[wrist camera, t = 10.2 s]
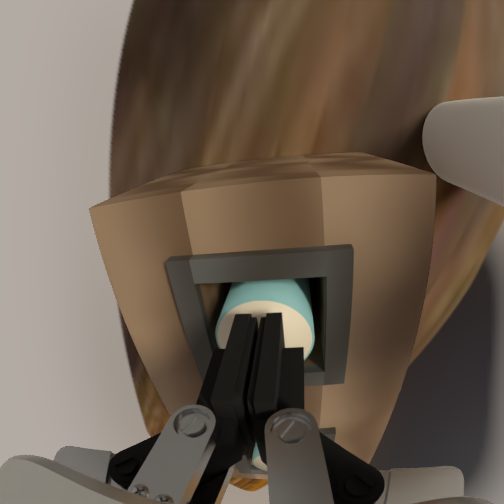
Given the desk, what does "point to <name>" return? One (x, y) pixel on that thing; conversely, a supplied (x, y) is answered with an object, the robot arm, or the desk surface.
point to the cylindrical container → (468, 145)
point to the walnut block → (279, 274)
